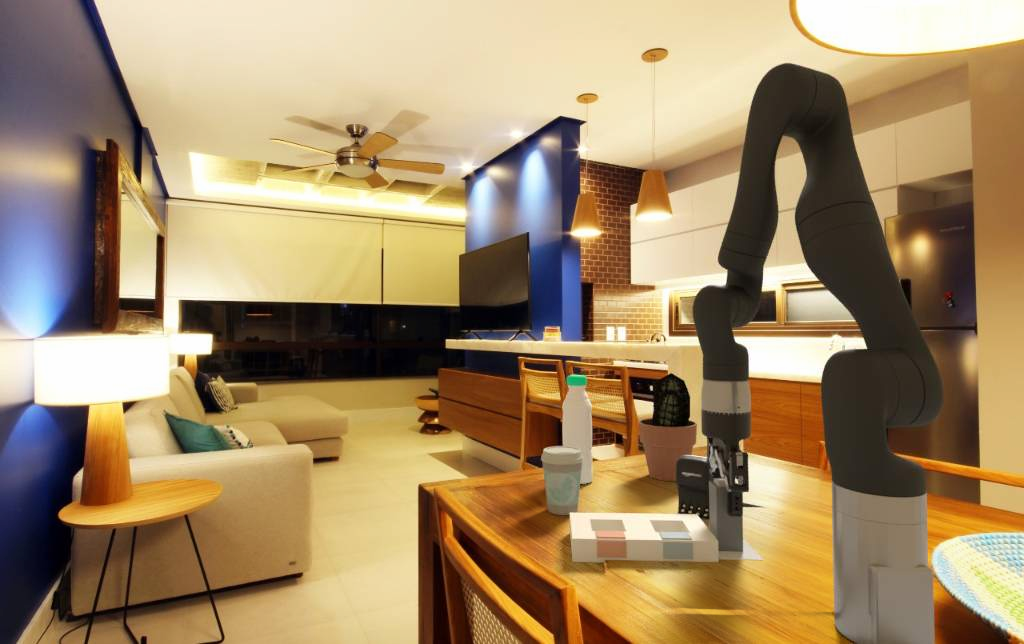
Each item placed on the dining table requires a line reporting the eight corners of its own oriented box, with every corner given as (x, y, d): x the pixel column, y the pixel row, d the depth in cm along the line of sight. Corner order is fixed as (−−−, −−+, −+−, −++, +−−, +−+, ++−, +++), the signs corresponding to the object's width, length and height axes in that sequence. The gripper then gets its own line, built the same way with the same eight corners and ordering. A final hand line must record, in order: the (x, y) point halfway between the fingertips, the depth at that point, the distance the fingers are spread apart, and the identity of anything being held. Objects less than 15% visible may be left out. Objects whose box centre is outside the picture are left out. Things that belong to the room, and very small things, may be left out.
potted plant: (628, 471, 136) (627, 372, 137) (675, 467, 140) (674, 370, 141) (659, 486, 123) (657, 376, 124) (709, 481, 127) (708, 374, 128)
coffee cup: (534, 513, 106) (533, 452, 106) (551, 501, 113) (551, 443, 114) (575, 520, 102) (574, 456, 102) (590, 507, 109) (589, 447, 110)
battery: (673, 516, 103) (672, 456, 104) (680, 511, 106) (679, 452, 107) (711, 524, 99) (710, 461, 99) (717, 518, 102) (716, 457, 103)
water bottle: (557, 479, 130) (556, 375, 130) (582, 475, 133) (581, 373, 133) (572, 486, 124) (571, 377, 124) (598, 483, 127) (597, 375, 127)
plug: (743, 551, 86) (742, 484, 86) (717, 551, 86) (716, 484, 86) (734, 541, 90) (733, 477, 90) (709, 541, 90) (708, 477, 90)
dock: (719, 565, 82) (718, 540, 82) (572, 562, 83) (572, 537, 84) (697, 535, 94) (696, 513, 94) (569, 532, 96) (569, 511, 96)
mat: (763, 563, 83) (763, 559, 83) (709, 562, 83) (709, 558, 83) (740, 538, 93) (740, 535, 93) (692, 537, 93) (692, 534, 93)
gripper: (766, 415, 81) (766, 523, 81) (735, 400, 95) (736, 492, 95) (714, 414, 82) (715, 522, 82) (691, 400, 96) (692, 492, 96)
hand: (726, 506), depth 89 cm, fingers open, 8 cm apart
